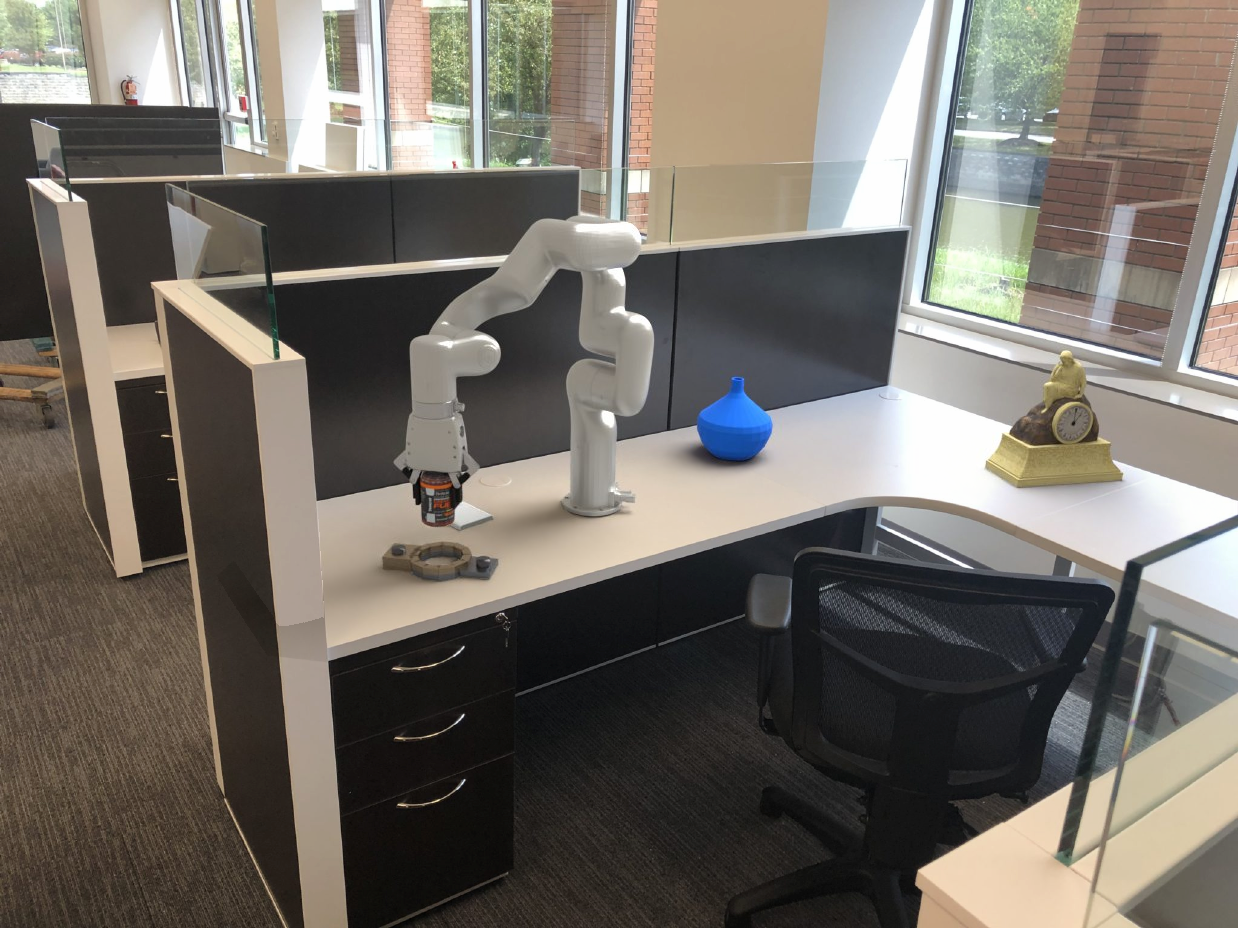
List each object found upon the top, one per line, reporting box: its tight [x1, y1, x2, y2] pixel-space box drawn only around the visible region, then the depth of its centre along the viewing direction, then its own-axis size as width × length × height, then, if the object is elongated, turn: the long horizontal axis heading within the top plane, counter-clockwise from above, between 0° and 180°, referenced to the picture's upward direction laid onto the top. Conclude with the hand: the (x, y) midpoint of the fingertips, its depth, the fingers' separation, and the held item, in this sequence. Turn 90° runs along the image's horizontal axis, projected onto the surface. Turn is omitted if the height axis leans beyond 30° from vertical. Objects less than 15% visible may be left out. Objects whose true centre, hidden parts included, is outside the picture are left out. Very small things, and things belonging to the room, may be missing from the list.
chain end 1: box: [381, 541, 473, 575], centre depth 177 cm, size 16×11×3 cm
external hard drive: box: [449, 500, 494, 531], centre depth 199 cm, size 2×8×12 cm
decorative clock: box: [984, 350, 1124, 488], centre depth 226 cm, size 28×13×30 cm, turn 103°
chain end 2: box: [410, 551, 499, 582], centre depth 177 cm, size 16×11×2 cm
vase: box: [696, 376, 774, 461], centre depth 235 cm, size 18×18×19 cm
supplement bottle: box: [420, 471, 455, 528], centre depth 172 cm, size 6×6×11 cm
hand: (438, 503), depth 173 cm, fingers closed on supplement bottle, 6 cm apart
